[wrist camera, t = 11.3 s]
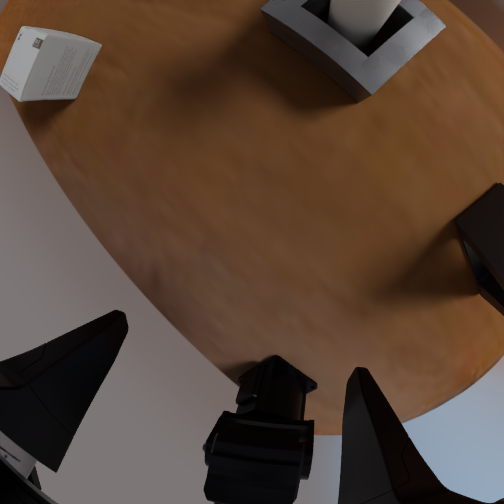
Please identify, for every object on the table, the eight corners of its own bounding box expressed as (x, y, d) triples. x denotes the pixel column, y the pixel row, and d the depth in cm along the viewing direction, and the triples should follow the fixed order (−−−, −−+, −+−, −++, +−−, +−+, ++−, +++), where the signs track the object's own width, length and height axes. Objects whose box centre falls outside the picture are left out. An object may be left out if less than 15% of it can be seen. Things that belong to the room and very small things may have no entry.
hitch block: (421, 43, 12) (446, 26, 8) (357, 103, 16) (371, 94, 12) (339, -23, 11) (343, -53, 7) (271, 33, 15) (260, 8, 11)
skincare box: (49, 83, 19) (-3, 85, 12) (72, 33, 16) (20, 25, 9) (77, 100, 19) (18, 103, 13) (104, 44, 17) (46, 32, 10)
